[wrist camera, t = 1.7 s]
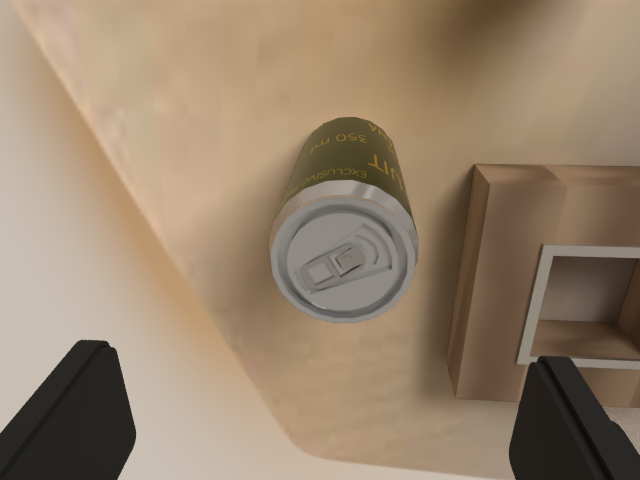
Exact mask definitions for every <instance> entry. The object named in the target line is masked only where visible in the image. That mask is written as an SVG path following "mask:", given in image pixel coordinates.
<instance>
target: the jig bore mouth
mask: <svg viewBox="0 0 640 480" xmlns="http://www.w3.org/2000/svg"><path fill="white" fill-rule="evenodd" d="M553 256H581V257H616V258H640V246H625V245H588V244H551V243H543V244H542V248H541V252H540V257H539V261H538V266H537V270H536V275H535V279H534V283H533V288H532V292H531V297H530V301H529V305H528V310H527V314H526V319H525V323H524V328H523V332H522V336H521V341H520V345H519V350H518V354H517V359H516V364H523V365H529V364H530V363H531V362H537V359H538V358H539V356H556V355H533V354H530V351H531V347H532V343H533V339H534V335H535V331H536V326H537V322H538V318H539V314H540V310H541V306H542V302H543V297H544V293H545V289H546V285H547V281H548V277H549V273H550V268H551V264H552V260H553ZM567 357H569V358H571V360H572V361H573V362H574V364H575V365H576V367H591V368H613V369H636V370H640V359H626V358H603V357H579V356H567Z"/></svg>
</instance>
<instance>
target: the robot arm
mask: <svg viewBox="0 0 640 480" xmlns="http://www.w3.org/2000/svg"><path fill="white" fill-rule="evenodd" d="M135 439H136V429H135V425H134V421H133V417H132V413H131V409H130V405H129V400H128V396H127V392H126V388H125V384H124V379H123V375H122V372H121V367H120V363H119V359H118V355H117V351H116V349H115V348H113V347H110V345H109V343H108V342H107V341H100V340H99V341H98V340H80V341H78V342H77V343H76V344H75V345H74V346H73V347H72V348H71V350H70V351H69V352H68V353H67V354H66V356H65V357H64V358H63V359H62V360H61V362H60V363H59V364H58V365H57V366H56V368H55V369H54V370H53V371H52V372H51V374H50V375H49V376H48V377H47V378H46V380H45V381H44V382H43V383H42V384H41V386H40V387H39V388H38V389H37V390H36V391H35V393H34V394H33V395H32V396H31V397H30V399H29V400H28V401H27V402H26V403H25V405H24V406H23V407H22V408H21V409H20V410H19V412H18V413H17V414H16V415H15V416H14V418H13V419H12V420H11V421H10V423H9V424H8V425H7V426H6V427H5V428H4V430H3V431H2V432H1V433H0V480H117V479H118V477H119V475H120V473H121V471H122V469H123V467H124V465H125V463H126V461H127V459H128V457H129V455H130V453H131V451H132V449H133V446H134V443H135ZM509 459H510V464H511V467H512V470H513V473H514V476H515V479H516V480H640V455H639V454H638V452H637V451H636V449H635V447H634V446H633V444H632V443H631V441H630V440H629V438H628V437H627V435H626V434H625V432H624V431H623V430H622V428H621V427H620V426H619V425H618V424H616V423H615V422H613V421H611V420H610V419H609V417H608V415H607V414H606V412H605V411H604V409H603V408H602V406H601V405H600V403H599V401H598V400H597V398H596V397H595V395H594V394H593V392H592V390H591V389H590V387H589V386H588V384H587V383H586V381H585V379H584V378H583V376H582V375H581V373H580V372H579V370H578V369H577V367H576V365H575V364H574V362H573V361H572V360H571V358H569V357H567V356H539V358H538V359H537V362H531V363H530V364H529V367H528V371H527V375H526V379H525V384H524V388H523V392H522V396H521V400H520V405H519V409H518V413H517V417H516V421H515V426H514V430H513V434H512V438H511V442H510V447H509Z"/></svg>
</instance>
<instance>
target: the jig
mask: <svg viewBox="0 0 640 480" xmlns="http://www.w3.org/2000/svg"><path fill="white" fill-rule="evenodd" d="M543 243H551V244H588V245H625V246H640V167H633V166H569V165H506V164H475V165H474V172H473V179H472V186H471V193H470V200H469V207H468V214H467V221H466V227H465V234H464V241H463V248H462V255H461V262H460V269H459V276H458V283H457V290H456V297H455V304H454V311H453V318H452V325H451V332H450V339H449V346H448V353H447V360H446V361H447V365H448V370H449V374H450V378H451V382H452V386H453V390H454V394H455V398H456V399H472V400H492V401H512V402H520V400H521V396H522V392H523V388H524V384H525V379H526V375H527V371H528V367H529V365H523V364H516V359H517V354H518V350H519V345H520V341H521V336H522V332H523V328H524V323H525V319H526V314H527V310H528V305H529V301H530V297H531V292H532V288H533V283H534V279H535V275H536V270H537V266H538V261H539V257H540V252H541V248H542V244H543ZM530 354H533V355H556V356H579V357H603V358H626V359H640V258H638V260H637V263H636V266H635V269H634V272H633V275H632V278H631V281H630V284H629V287H628V290H627V293H626V296H625V299H624V302H623V305H622V308H621V311H620V314H619V317H618V320H617V323H607V322H581V321H554V320H538V322H537V326H536V331H535V335H534V339H533V343H532V347H531V351H530ZM577 369H578V370H579V372H580V373H581V375H582V376H583V378H584V379H585V381H586V383H587V384H588V386H589V387H590V389H591V390H592V392H593V394H594V395H595V397H596V398H597V400H598V401H599V403H600V405H601V406H612V407H632V408H640V370H636V369H613V368H591V367H577Z"/></svg>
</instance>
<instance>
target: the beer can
mask: <svg viewBox="0 0 640 480" xmlns="http://www.w3.org/2000/svg"><path fill="white" fill-rule="evenodd" d="M269 249H270V258H271V266H272V274H273V277H274V279H275V281H276V283H277V285H278V287H279V289H280V291H281V293H282V294H283V295H284V296H285V297H286V299H287V300H288V301H289V302H290V303H291V304H292V305H293V306H294V307H295V308H297V309H298V310H300V311H302V312H304V313H305V314H307V315H309V316H311V317H313V318H315V319H319V320H323V321H327V322H331V323H358V322H362V321H366V320H369V319H373V318H376V317H378V316H379V315H381V314H383V313H384V312H386V311H388V310H389V309H391V308H393V307H394V306H395V305H396V303H397V302H398V301H399V300H400V299H401V298H402V297H403V295H404V294H405V293H406V292H407V290H408V287H409V285H410V282H411V280H412V278H413V275H414V268H415V265H416V263H417V260H418V235H417V231H416V227H415V224H414V220H413V216H412V212H411V208H410V204H409V200H408V197H407V193H406V189H405V185H404V181H403V177H402V173H401V170H400V166H399V162H398V158H397V155H396V152H395V149H394V146H393V143H392V141H391V140H390V138H389V137H388V136H387V134H386V133H385V132H384V131H383V130H382V129H381V128H379V127H378V126H376V125H375V124H373V123H372V122H371V121H368V120H364V119H360V118H357V117H344V118H337V119H334V120H332V121H329V122H326V123H324V124H323V125H322V126H320V127H319V128H318V129H317V130H315V131H314V132H313V133H312V134H311V136H310V137H309V139H308V140H307V142H306V144H305V145H304V147H303V150H302V152H301V155H300V157H299V160H298V162H297V165H296V167H295V169H294V172H293V174H292V177H291V179H290V182H289V184H288V187H287V189H286V192H285V194H284V197H283V199H282V202H281V204H280V207H279V209H278V212H277V214H276V217H275V219H274V222H273V226H272V230H271V234H270V239H269Z"/></svg>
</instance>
